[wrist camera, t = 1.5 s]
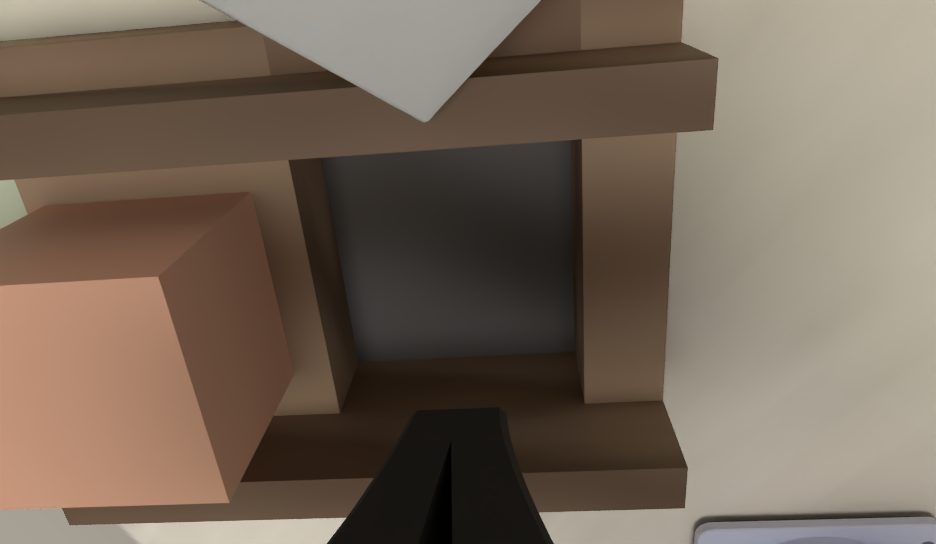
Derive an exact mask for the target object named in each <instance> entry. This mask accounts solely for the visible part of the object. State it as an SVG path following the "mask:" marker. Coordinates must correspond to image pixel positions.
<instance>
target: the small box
mask: <svg viewBox="0 0 936 544" xmlns="http://www.w3.org/2000/svg"><path fill="white" fill-rule="evenodd" d="M200 1H202V2H204V3H205V4H207V5H209V6H211V7H213V8H215V9H217V10H218V11H220V12H222V13H224V14H226V15H228V16H229V17H231V18H233V19H235V20H237V21H239V22H240V23H242V24H244V25H246V26H248V27H250V28H252V29H253V30H255V31H257V32H259V33H261V34H263V35H264V36H266V37H268V38H270V39H272V40H274V41H275V42H277V43H279V44H281V45H283V46H285V47H287V48H288V49H290V50H292V51H294V52H296V53H298V54H300V55H301V56H303V57H305V58H307V59H309V60H311V61H313V62H314V63H316V64H318V65H320V66H322V67H323V68H325V69H327V70H329V71H331V72H332V73H334V74H336V75H338V76H340V77H342V78H344V79H345V80H347V81H349V82H351V83H353V84H354V85H356V86H358V87H360V88H362V89H364V90H365V91H367V92H369V93H371V94H373V95H374V96H376V97H378V98H380V99H381V100H383V101H385V102H387V103H389V104H390V105H392V106H394V107H396V108H398V109H400V110H402V111H404V112H406V113H407V114H409V115H411V116H412V117H414V118H416V119H417V120H419V121H422V122H427V121H429V120H430V119H431V118H432V117H433V115H434V114H435V113H436V112H437V111H438V110H439V109H440V108H441V107H442V105H443V104H444V103H445V102H446V101H447V100H448V99H449V98H450V97H451V96H452V95H453V94H454V93H455V92H456V90H457V89H458V88H459V87H460V86H461V85H462V84H463V83H464V82H465V81H466V79H467V78H468V77H469V76H470V75H471V74H472V73H473V72H474V71H475V70H476V69H477V68H478V67H479V66H480V64H481V63H482V62H483V61H484V60H485V59H486V58H487V57H488V56H489V55H490V54H491V53H492V52H493V51H494V50H495V49H496V48H497V47H498V46H499V44H500V43H501V42H502V41H503V40H504V39H505V38H506V37H507V36H508V35H509V34H510V33H511V32H512V30H513V29H514V28H515V27H516V26H517V25H518V24H519V23H520V22H521V21H522V20H523V19H524V18H525V17H526V16H527V15H528V14H529V13H530V12H531V11H532V10H533V9H534V8H535V6H536V5H537V4H538V3H539V2H540V1H541V0H200Z"/></svg>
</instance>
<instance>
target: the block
mask: <svg viewBox="0 0 936 544" xmlns="http://www.w3.org/2000/svg"><path fill="white" fill-rule="evenodd" d="M293 376H294V372H293V367H292V363H291V359H290V354H289V350H288V346H287V342H286V337H285V333H284V329H283V324H282V320H281V316H280V312H279V307H278V303H277V299H276V295H275V290H274V286H273V282H272V277H271V273H270V269H269V265H268V260H267V256H266V252H265V247H264V243H263V239H262V235H261V230H260V226H259V222H258V217H257V213H256V209H255V205H254V200H253V196H252V192H237V193H222V194H207V195H193V196H178V197H163V198H148V199H133V200H118V201H104V202H89V203H74V204H59V205H45V206H43V207H41V208H39V209H37V210H35V211H33V212H32V213H30V214H28V215H26V216H24V217H22V218H20V219H18V220H16V221H15V222H13V223H11V224H9V225H7V226H5V227H3V228H1V229H0V510H7V509H39V508H40V509H42V508H75V507H109V506H142V505H176V504H210V503H230V501H231V499H232V497H233V495H234V493H235V491H236V489H237V487H238V485H239V483H240V481H241V479H242V477H243V475H244V473H245V471H246V469H247V467H248V465H249V463H250V461H251V459H252V457H253V455H254V453H255V451H256V449H257V447H258V445H259V443H260V441H261V439H262V437H263V435H264V433H265V431H266V429H267V427H268V425H269V423H270V421H271V419H272V417H273V415H274V413H275V411H276V409H277V408H278V406H279V404H280V402H281V400H282V398H283V396H284V394H285V392H286V390H287V388H288V386H289V384H290V382H291V380H292V378H293Z"/></svg>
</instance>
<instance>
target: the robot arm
mask: <svg viewBox="0 0 936 544" xmlns="http://www.w3.org/2000/svg"><path fill="white" fill-rule="evenodd" d="M327 544H554V543H553V542H552V540H551V538H550V536H549V534H548V531H547V529H546V527H545V525H544V523H543V521H542V519H541V517H540V515H539V512H538V510H537V508H536V506H535V503H534V501H533V499H532V497H531V494H530V492H529V490H528V488H527V485H526V483H525V480H524V478H523V475H522V473H521V470H520V467H519V464H518V461H517V458H516V455H515V452H514V449H513V445H512V442H511V438H510V434H509V429H508V420H507V413H506V412H504V411H503V410H502V409H501V408H499V407H492V408H467V409H442V410H417V411H416V412H415V413H414V414H413V415H412V416H411V417H410V419H409V421H408V423H407V425H406V427H405V428H404V430H403V432H402V434H401V435H400V437H399V439H398V440H397V442H396V444H395V445H394V447H393V449H392V450H391V452H390V454H389V455H388V457H387V458H386V460H385V462H384V463H383V465H382V466H381V468H380V470H379V471H378V473H377V474H376V476H375V477H374V479H373V480H372V482H371V483H370V485H369V486H368V488H367V489H366V490H365V492H364V493H363V495H362V496H361V498H360V499H359V501H358V502H357V504H356V505H355V507H354V508H353V509H352V511H351V512H350V514H349V515H348V517H347V518H346V519H345V521H344V522H343V523H342V525H341V526H340V527H339V529H338V530H337V531H336V533H335V534H334V535H333V536H332V538H331V539H330V540H329V542H328V543H327ZM694 544H936V519H935V518H933V517H896V518H858V519H819V520H780V521H742V522H709V523H704V524H702V525H700V526H699V527H698V528H697V529H696V531H695V536H694Z"/></svg>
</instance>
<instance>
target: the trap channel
mask: <svg viewBox="0 0 936 544" xmlns="http://www.w3.org/2000/svg"><path fill="white" fill-rule="evenodd" d="M682 16H683V0H541V1H540V2H539V3H538V4H537V5H536V6H535V8H534V9H533V10H532V11H531V12H530V13H529V14H528V15H527V16H526V17H525V18H524V19H523V20H522V21H521V22H520V23H519V24H518V25H517V26H516V27H515V28H514V29H513V30H512V32H511V33H510V34H509V35H508V36H507V37H506V38H505V39H504V40H503V41H502V42H501V43H500V44H499V46H498V47H497V48H496V49H495V50H494V51H493V52H492V53H491V54H490V55H489V56H488V57H487V58H486V59H485V60H484V61H483V62H482V63H481V64H480V66H479V67H478V68H477V69H476V70H475V71H474V72H473V73H472V74H471V75H470V76H469V77H468V78H467V79H466V81H465V82H464V83H463V84H462V85H461V86H460V87H459V88H458V89H457V90H456V92H455V93H454V94H453V95H452V96H451V97H450V98H449V99H448V100H447V101H446V102H445V103H444V104H443V105H442V107H441V108H440V109H439V110H438V111H437V112H436V113H435V114H434V115H433V117H432V118H431V119H430V120H429V121H427V122H422V121H419V120H417V119H416V118H414V117H412V116H411V115H409V114H407V113H406V112H404V111H402V110H400V109H398V108H396V107H394V106H392V105H390V104H389V103H387V102H385V101H383V100H381V99H380V98H378V97H376V96H374V95H373V94H371V93H369V92H367V91H365V90H364V89H362V88H360V87H358V86H356V85H354V84H353V83H351V82H349V81H347V80H345V79H344V78H342V77H340V76H338V75H336V74H334V73H332V72H331V71H329V70H327V69H325V68H323V67H322V66H320V65H318V64H316V63H314V62H313V61H311V60H309V59H307V58H305V57H303V56H301V55H300V54H298V53H296V52H294V51H292V50H290V49H288V48H287V47H285V46H283V45H281V44H279V43H277V42H275V41H274V40H272V39H270V38H268V37H266V36H264V35H263V34H261V33H259V32H257V31H255V30H253V29H252V28H250V27H248V26H246V25H244V24H242V23H240V22H239V21H227V22H216V23H204V24H193V25H182V26H170V27H159V28H148V29H136V30H125V31H114V32H103V33H91V34H80V35H69V36H57V37H46V38H35V39H23V40H12V41H1V42H0V229H1V228H3V227H5V226H7V225H9V224H11V223H13V222H15V221H16V220H18V219H20V218H22V217H24V216H26V215H28V214H30V213H32V212H33V211H35V210H37V209H39V208H41V207H43V206H45V205H59V204H74V203H89V202H104V201H118V200H133V199H148V198H163V197H178V196H193V195H207V194H222V193H237V192H252V196H253V200H254V205H255V209H256V213H257V217H258V222H259V226H260V230H261V235H262V239H263V243H264V247H265V252H266V256H267V260H268V265H269V269H270V273H271V277H272V282H273V286H274V290H275V295H276V299H277V303H278V307H279V312H280V316H281V320H282V324H283V329H284V333H285V337H286V342H287V346H288V350H289V354H290V359H291V363H292V367H293V372H294V376H293V378H292V380H291V382H290V384H289V386H288V388H287V390H286V392H285V394H284V396H283V398H282V400H281V402H280V404H279V406H278V408H277V409H276V411H275V413H274V415H273V417H272V419H271V421H270V423H269V425H268V427H267V429H266V431H265V433H264V435H263V437H262V439H261V441H260V443H259V445H258V447H257V449H256V451H255V453H254V455H253V457H252V459H251V461H250V463H249V465H248V467H247V469H246V471H245V473H244V475H243V477H242V479H241V481H240V483H239V485H238V487H237V489H236V491H235V493H234V495H233V497H232V499H231V501H230V503H210V504H176V505H142V506H109V507H75V508H62V509H63V511H64V514H65V516H66V518H67V520H68V522H69V524H70V525H88V524H89V525H91V524H128V523H164V522H201V521H237V520H273V519H309V518H346V517H348V515H349V514H350V512H351V511H352V509H353V508H354V507H355V505H356V504H357V502H358V501H359V499H360V498H361V496H362V495H363V493H364V492H365V490H366V489H367V488H368V486H369V485H370V483H371V482H372V480H373V479H374V477H375V476H376V474H377V473H378V471H379V470H380V468H381V466H382V465H383V463H384V462H385V460H386V458H387V457H388V455H389V454H390V452H391V450H392V449H393V447H394V445H395V444H396V442H397V440H398V439H399V437H400V435H401V434H402V432H403V430H404V428H405V427H406V425H407V423H408V421H409V419H410V417H411V416H412V415H413V414H414V413H415V412H416V411H417V410H442V409H467V408H492V407H499V408H501V409H502V410H503V411H504V412H506V413H507V420H508V429H509V434H510V438H511V442H512V445H513V449H514V452H515V455H516V458H517V461H518V464H519V467H520V470H521V473H522V475H523V478H524V480H525V483H526V485H527V488H528V490H529V492H530V494H531V497H532V499H533V501H534V503H535V506H536V508H537V510H538V512H563V511H600V510H636V509H672V508H685V497H686V484H687V470H688V467H687V465H686V462H685V459H684V457H683V454H682V451H681V448H680V446H679V443H678V440H677V438H676V435H675V432H674V430H673V427H672V424H671V421H670V419H669V416H668V413H667V411H666V408H665V405H664V402H663V386H664V366H665V347H666V327H667V308H668V288H669V269H670V250H671V230H672V211H673V191H674V172H675V152H676V133H677V132H691V131H705V130H713V124H714V110H715V97H716V84H717V70H718V58H716V57H714V56H712V55H709V54H707V53H705V52H703V51H700V50H698V49H696V48H693V47H691V46H689V45H687V44H684V43H682V42H681V36H682Z"/></svg>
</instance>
